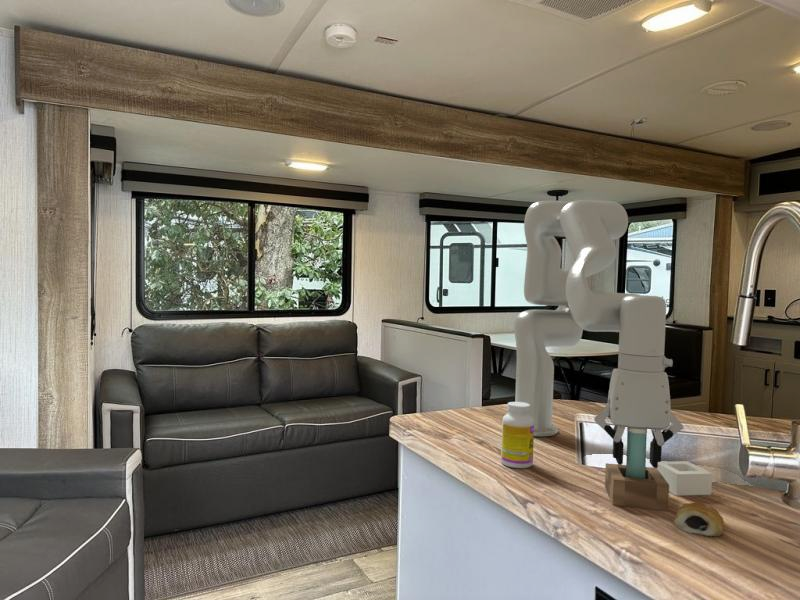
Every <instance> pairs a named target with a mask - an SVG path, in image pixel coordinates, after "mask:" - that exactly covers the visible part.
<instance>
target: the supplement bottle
mask: <svg viewBox="0 0 800 600" xmlns="http://www.w3.org/2000/svg"><path fill="white" fill-rule="evenodd" d="M506 408H507V413H506V414H505V415H503V417H502V421H501V446H500V447H501V448H500V449H501V450H500V451H501V452H500V462H501V463H502V464H503V465H504V466H507V467H508V468H509V467H510V468H513V469H527V468H530V467H532V466H533V461H534V441H535V440H534V439H535V438H534V437H535V436H534V420H533V418H532V417H531V416H529V411H530V404H528V403H523V402H515V401H509V402H507V407H506Z"/></svg>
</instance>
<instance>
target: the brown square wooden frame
mask: <svg viewBox="0 0 800 600" xmlns="http://www.w3.org/2000/svg"><path fill="white" fill-rule="evenodd" d="M604 475H605V476H604V488H605V490H606V493H607V495H608V497H609V500H610V503H611V504H612V506H618V507H619V506H620V507H621V506H622V507H631V508H639V509H647V510H656V511H658V510H659V511H665V512H667V511H669V500H670V499H669V497H670V491H669V484H668V483H667V481H666V480H665V479H664V477H663V476H662V475H661V473H660V472H659V471H658V469H657V468H654V467H653V466H652V467H650V466H646V468H645V479H640V478H630V477H626V464H622V465H619V464H618V463H605V473H604Z"/></svg>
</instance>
